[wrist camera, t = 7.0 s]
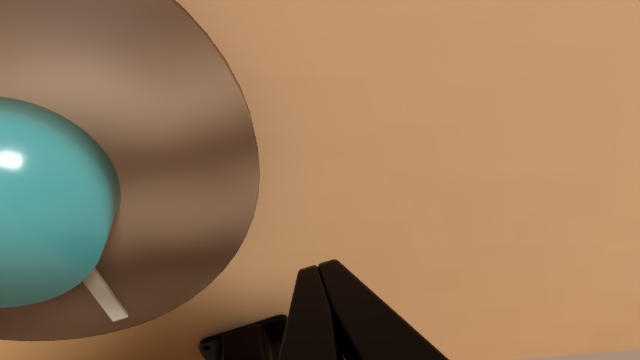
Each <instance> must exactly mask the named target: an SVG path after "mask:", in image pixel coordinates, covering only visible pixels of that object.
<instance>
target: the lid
mask: <svg viewBox="0 0 640 360" xmlns="http://www.w3.org/2000/svg"><path fill="white" fill-rule="evenodd" d="M120 201H121V189H120V182H119V178H118V175H117V172H116V170H115V168H114V166H113V164H112V162H111V160H110V158H109V157H108V155H107V154H106V152H105V151H104V150H103V149H102V147H101V146H100V145H99V144H98V143H97V142H96V141H95V140H94V139H93V138H92V137H91V136H90V135H89V134H88V133H87V132H86V131H84V130H83V129H82V128H80V127H79V126H77V125H76V124H75V123H73V122H72V121H70V120H68V119H67V118H65V117H63V116H61V115H60V114H57V113H55V112H53V111H51V110H49V109H47V108H44V107H41V106H38V105H36V104H33V103H30V102H26V101H22V100H18V99H13V98H6V97H0V308H6V307H18V306H24V305H31V304H35V303H39V302H43V301H46V300H49V299H52V298H55V297H57V296H59V295H61V294H63V293H66V292H68V291H69V290H71V289H72V288H74V287H75V286H77V285H78V284H80V283H81V282H82V281H83V280H84V279H85V278H87V276H88V275H89V274H90V273H91V272H92V271H93V269H94V268H95V266H96V265H97V263H98V261H99V259H100V257H101V254H102V251H103V249H104V246H105V244H106V241H107V239H108V236H109V234H110V231H111V229H112V226H113V224H114V221H115V219H116V216H117V213H118V211H119V207H120Z"/></svg>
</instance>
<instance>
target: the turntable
mask: <svg viewBox="0 0 640 360" xmlns="http://www.w3.org/2000/svg"><path fill="white" fill-rule="evenodd" d="M0 97H6V98H13V99H18V100H22V101H26V102H30V103H33V104H36V105H38V106H41V107H44V108H47V109H49V110H51V111H53V112H55V113H57V114H60V115H61V116H63V117H65V118H67V119H68V120H70V121H72V122H73V123H75V124H76V125H77V126H79V127H80V128H82V129H83V130H84V131H86V132H87V133H88V134H89V135H90V136H91V137H92V138H93V139H94V140H95V141H96V142H97V143H98V144H99V145H100V146H101V147H102V149H103V150H104V151H105V152H106V154H107V155H108V157H109V158H110V160H111V162H112V164H113V166H114V168H115V170H116V172H117V175H118V178H119V182H120V189H121V201H120V207H119V211H118V213H117V216H116V219H115V221H114V224H113V226H112V229H111V231H110V234H109V236H108V239H107V241H106V244H105V246H104V249H103V251H102V254H101V257H100V259H99V261H98V263H97V265H96V266H95V268H94V269H93V271H92V272H91V273H90V274H89V275H88V276H87V278H85V279H84V280H83V281H82V282H81V283H80V284H78V285H77V286H75V287H74V288H72V289H71V290H69V291H68V292H66V293H63V294H61V295H59V296H57V297H55V298H52V299H49V300H46V301H43V302H39V303H35V304H31V305H24V306H18V307H6V308H0V340H16V341H55V340H66V339H77V338H84V337H90V336H96V335H102V334H107V333H111V332H115V331H118V330H122V329H126V328H130V327H133V326H135V325H138V324H141V323H144V322H147V321H149V320H152V319H154V318H156V317H158V316H161V315H163V314H165V313H167V312H169V311H171V310H173V309H175V308H176V307H178V306H180V305H181V304H183V303H185V302H186V301H188V300H190V299H191V298H192V297H194V296H195V295H196V294H198V293H199V292H200V291H202V290H203V289H204V288H205V287H207V286H208V285H209V284H210V283H211V282H212V281H213V280H214V279H215V278H216V277H217V276H218V275H219V274H220V273H221V272H222V271H223V270H224V269H225V267H226V266H227V265H228V264H229V262H230V261H231V260H232V258H233V257H234V256H235V255H236V253H237V251H238V249H239V248H240V246H241V244H242V242H243V241H244V239H245V237H246V235H247V232H248V230H249V227H250V225H251V222H252V219H253V217H254V212H255V208H256V204H257V199H258V192H259V178H260V169H259V157H258V147H257V142H256V137H255V133H254V128H253V124H252V120H251V115H250V111H249V109H248V106H247V103H246V101H245V98H244V96H243V93H242V90H241V88H240V86H239V84H238V82H237V80H236V78H235V76H234V74H233V73H232V71H231V69H230V67H229V65H228V63H227V61H226V60H225V58H224V57H223V56H222V54H221V53H220V51H219V50H218V48H217V47H216V46H215V44H214V43H213V41H212V40H211V39H210V37H209V36H208V34H207V33H206V32H205V31H204V30H203V29H202V28H201V27H200V26H199V24H198V23H197V22H196V21H195V20H194V19H193V18H192V17H191V16H190V14H189V13H188V12H187V11H186V10H185V9H184V8H183V7H182V6H181V5H180V4H179V3H177V2H176V1H175V0H0Z"/></svg>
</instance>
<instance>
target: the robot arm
mask: <svg viewBox="0 0 640 360" xmlns="http://www.w3.org/2000/svg"><path fill="white" fill-rule="evenodd" d="M199 349H200V351H201V353H202V355H203V356H204V358H205V360H344V359H345V360H449V359H448V358H447V357H445V356H444V355H443V354H442V353H441V352H440V351H439V350H438V349H436V348H435V347H434V346H433V345H432V344H431V343H430V342H429V341H427V340H426V339H425V338H424V337H423V336H422V335H421V334H420V333H419V332H417V331H416V330H415V329H414V328H413V327H412V326H411V325H410V324H408V323H407V322H406V321H405V320H404V319H403V318H402V317H401V316H399V315H398V314H397V313H396V312H395V311H394V310H393V309H392V308H391V307H389V306H388V305H387V304H386V303H385V302H384V301H383V300H382V299H380V298H379V297H378V296H377V295H376V294H375V293H374V292H373V291H371V290H370V289H369V288H368V287H367V286H366V285H365V284H364V283H363V282H361V281H360V280H359V279H358V278H357V277H356V276H355V275H354V274H352V273H351V272H350V271H349V270H348V269H347V268H346V267H345V266H344V265H342V264H341V263H340V262H339V261H338V260H336V259H333V260H330V261H326V262H323V263H320V264H319V266H316V265H313V266H310V267H306V268H303V269H300V270H299V272H298V275H297V279H296V284H295V288H294V293H293V297H292V301H291V306H290V310H289V315H288V317H287V316H285V315H279V316H276V317H272V318H269V319H266V320H263V321H260V322H256V323H253V324H250V325H247V326H244V327H241V328H237V329H234V330H231V331H228V332H225V333H222V334H218V335H215V336H212V337H209V338H206V339H203V340H201V341H200V344H199ZM343 356H344V357H343Z"/></svg>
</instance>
